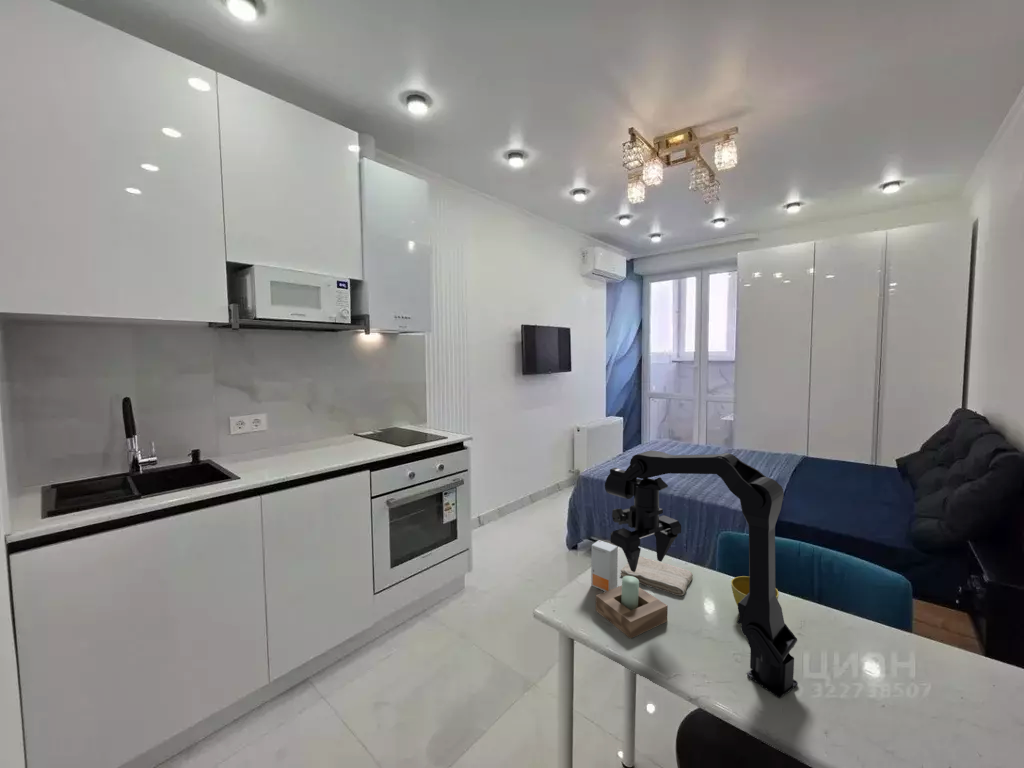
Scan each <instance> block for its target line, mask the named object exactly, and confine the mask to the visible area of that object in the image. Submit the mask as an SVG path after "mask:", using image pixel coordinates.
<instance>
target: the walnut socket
mask: <svg viewBox="0 0 1024 768" xmlns="http://www.w3.org/2000/svg"><path fill="white" fill-rule="evenodd" d="M621 596H622V585H619V586H617V587H616V588H614V589H611V590H609V591H606V592H605V591H604V592H601V593H599V594H596V595H595V611H596V612H597V613H598V614H599V615H600V616H602V618H604V619H605V620H607V621H608V622H609V623H610V624H612V626H614V627H615V628H617V629H618V630H619V631H620V632H622V633H623V634H624V635H626V636H627V637H628V638H629V639H633V638H635V637H637V636H639V635H641V634H643V633H646V632H648V631H650V630H652V629H654V628H657V627H658V626H661V625H662V624H664V623H666V622H668V613H669V612H668V607H669V606H668V605H667V604H666V603H665V602H663V601H661V600H660V599H658V598H657V597H656V596H654V595H652V594H650V593H649V592H647V591H646V590H644V589H642V588H641V587H640V586H639V596H638V608H636V609H634V610H629V609H628V608H626V607H625V606H624V605H622V604H621Z"/></svg>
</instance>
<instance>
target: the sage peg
mask: <svg viewBox="0 0 1024 768" xmlns="http://www.w3.org/2000/svg"><path fill="white" fill-rule="evenodd" d="M621 586H622V596H621V604H622V605H624V606H625V607H626V608H628V609H629V610H634V609H636V608H638V596H639V587H640V583H639V580H638V579H637V578H636V577H633V576H624V577H623V576H622V579H621Z"/></svg>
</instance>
